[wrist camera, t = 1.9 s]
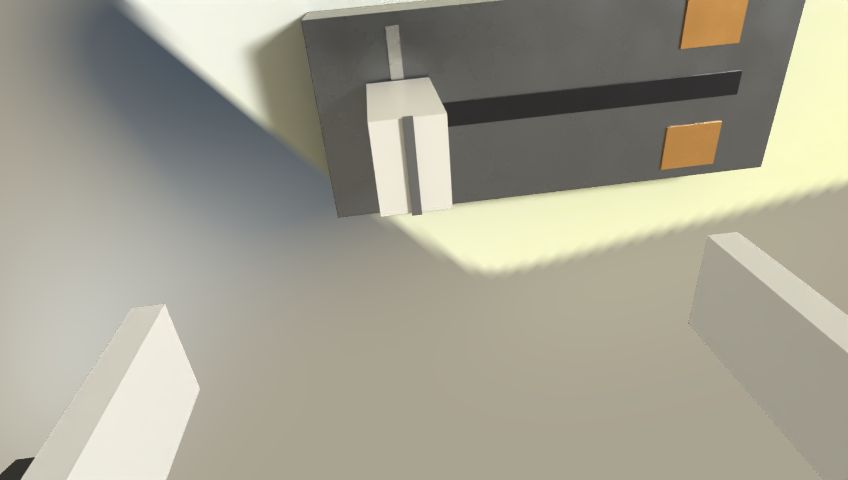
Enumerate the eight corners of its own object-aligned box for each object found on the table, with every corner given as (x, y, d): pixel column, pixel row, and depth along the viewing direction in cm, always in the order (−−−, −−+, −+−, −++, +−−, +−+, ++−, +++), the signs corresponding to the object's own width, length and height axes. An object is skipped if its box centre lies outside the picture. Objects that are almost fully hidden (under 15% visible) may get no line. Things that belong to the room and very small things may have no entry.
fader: (366, 82, 24) (367, 122, 19) (429, 76, 25) (447, 113, 19) (377, 163, 27) (380, 219, 21) (434, 157, 27) (453, 210, 21)
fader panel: (307, 12, 26) (301, 20, 23) (770, -35, 27) (815, -32, 24) (340, 194, 31) (337, 218, 28) (728, 148, 32) (761, 167, 29)
